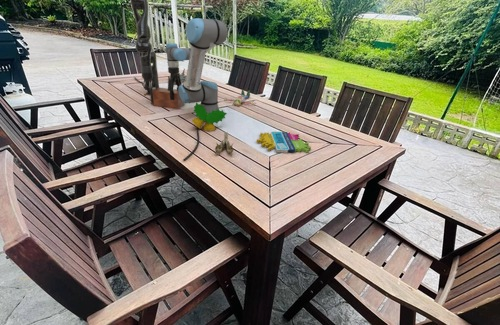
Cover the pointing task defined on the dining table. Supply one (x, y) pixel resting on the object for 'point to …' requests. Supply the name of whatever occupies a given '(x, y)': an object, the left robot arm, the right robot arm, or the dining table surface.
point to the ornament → (207, 117)
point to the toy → (241, 99)
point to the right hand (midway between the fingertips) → (175, 97)
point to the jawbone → (224, 145)
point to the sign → (283, 142)
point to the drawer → (150, 96)
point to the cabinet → (166, 98)
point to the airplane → (181, 77)
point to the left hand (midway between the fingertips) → (149, 95)
